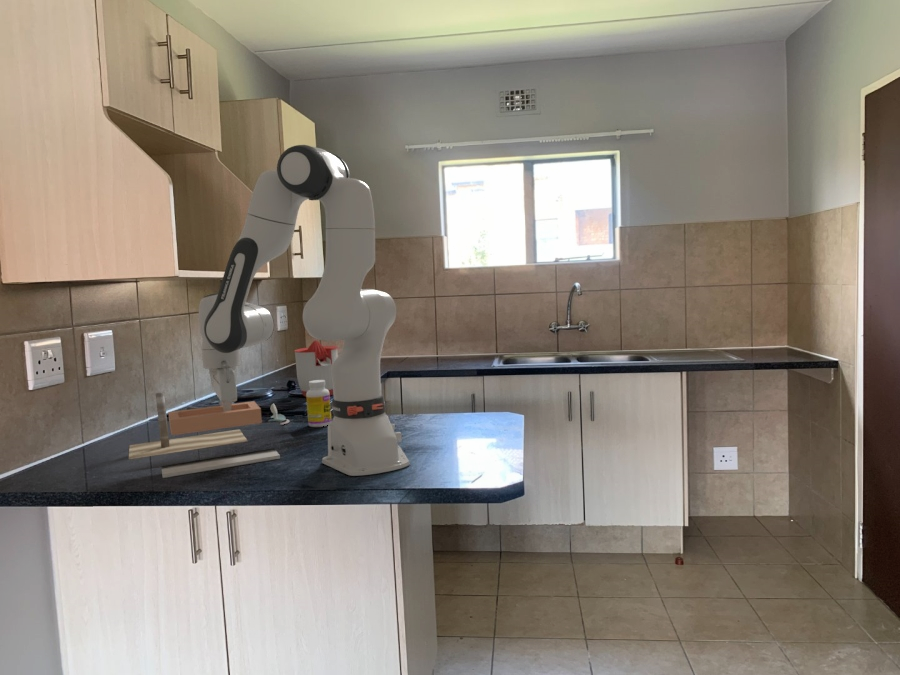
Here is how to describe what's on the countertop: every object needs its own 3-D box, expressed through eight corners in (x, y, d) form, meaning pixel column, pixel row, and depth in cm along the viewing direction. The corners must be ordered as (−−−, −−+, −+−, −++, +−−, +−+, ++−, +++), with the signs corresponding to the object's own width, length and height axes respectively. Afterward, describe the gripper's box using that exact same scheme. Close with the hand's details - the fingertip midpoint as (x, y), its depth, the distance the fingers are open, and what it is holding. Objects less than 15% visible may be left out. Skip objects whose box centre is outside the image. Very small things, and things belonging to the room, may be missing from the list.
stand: (248, 446, 176) (242, 387, 175) (129, 465, 165) (122, 402, 163) (240, 434, 191) (235, 379, 189) (130, 450, 179) (123, 392, 178)
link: (261, 422, 162) (260, 408, 162) (171, 435, 154) (170, 420, 154) (255, 414, 171) (254, 401, 171) (169, 426, 163) (168, 412, 163)
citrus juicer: (307, 401, 235) (302, 344, 233) (292, 395, 250) (287, 341, 248) (349, 395, 243) (345, 339, 241) (332, 389, 258) (328, 336, 256)
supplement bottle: (326, 427, 193) (323, 382, 192) (304, 427, 194) (301, 383, 193) (335, 422, 199) (331, 378, 198) (314, 422, 201) (310, 379, 199)
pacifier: (291, 421, 206) (271, 421, 206) (290, 400, 205) (270, 401, 205) (287, 426, 199) (266, 427, 198) (286, 405, 198) (265, 406, 198)
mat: (280, 458, 163) (279, 455, 163) (162, 477, 152) (162, 474, 152) (270, 446, 175) (269, 443, 175) (160, 463, 165) (160, 460, 165)
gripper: (240, 362, 158) (245, 420, 159) (230, 354, 177) (234, 406, 178) (212, 365, 155) (217, 424, 157) (204, 356, 174) (209, 409, 175)
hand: (226, 414), depth 168 cm, fingers closed on link, 2 cm apart
